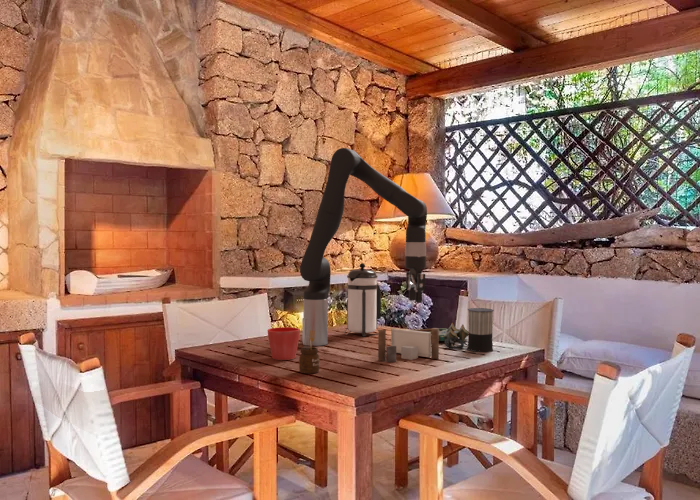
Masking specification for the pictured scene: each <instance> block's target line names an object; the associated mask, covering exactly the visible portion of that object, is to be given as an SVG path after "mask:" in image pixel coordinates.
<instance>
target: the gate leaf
mask: <svg viewBox="0 0 700 500" xmlns="http://www.w3.org/2000/svg"><path fill="white" fill-rule="evenodd" d="M412 330H413V329H401V328H391V331H390V332H391V335H390V336H391V338H390V339H391V340H390V341H391V344H390V346H396V354H401V347H402V346H406V345H411V346H418V357H426V358H430V357H431V332H422V331H412Z"/></svg>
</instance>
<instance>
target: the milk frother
mask: <svg viewBox="0 0 700 500" xmlns="http://www.w3.org/2000/svg"><path fill="white" fill-rule="evenodd" d="M467 311H468V331H469V333H468V334H469V335H468V336H467V337H468V339H467V340H468V341H467V342H465V340H464V341H462V340H460V339H459V337H458V338H455V337H451V338H448V339H446V340H445V341H444V346H445V347H446V348H448V349H453V350H459V349H462V348H464V346H467V350H468V351H471V352H480V353H488V352H493V351H494V348H493V344H494V343H493V331H494V330H493V322H494V321H493V317H494V315H493V314H494V309H492V308H484V307H472V308H467ZM453 341H454V342H453ZM448 342H449V343H448ZM455 342H457V343H459V344H460V345H455Z"/></svg>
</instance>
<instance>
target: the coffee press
mask: <svg viewBox="0 0 700 500" xmlns="http://www.w3.org/2000/svg"><path fill="white" fill-rule="evenodd" d="M365 267H366V265H365V263H364V262H362V263H361V262H360V263H359V268H357V269H356V268H355V269H351V270H350V271H348V275H346V277H347V278H346V279H347V286H346V288H347V290H346V291H347V292H346V293H347V295H346V296H347V298H346V299H347V301H346V302H347V303H346V304H347V305H346V306H347V310H346V314H347V315H346V316H347V317H346V321H347V322H346V324H347V325H346V329H345V330H344V332H343V333H344V335H346V336H347V335H348V334H350V333H359V334H361V336H362V338H366V336H367V335H366V334H367V333H375V334H376V335H378V333H377V332H376V330H377V331H378V330H379V329H378V319H380V316H381V309H382V303H381V302H382V294H381V293H382V291H381V287H380V285H379V284H378V283H377V281H378V280H377V279H378V275H377V272H376V271H374V270H373V269H365ZM347 330H348V332H347ZM346 332H347V333H346Z"/></svg>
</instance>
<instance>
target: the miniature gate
mask: <svg viewBox="0 0 700 500" xmlns="http://www.w3.org/2000/svg"><path fill="white" fill-rule="evenodd" d="M411 330H412V331H422V332H431V339H432V328H425V329H424V328H423V329H422V328H421V329H411ZM468 333H469V330H467V329H466V327H465V326H464V324H461V326H460V328H458V329H457V327H455V324H454V322H451V324H450V326H449V327H448V328H446V327H445V328H441V327H440V328H439V342H445V340H446V339H448V338H451V337H455V338H459V339H460V340H462V341H464V342H465V340H466V338H467V337H468V335H469V334H468ZM453 342H454V343H455V341H453ZM448 343H449V342H448Z"/></svg>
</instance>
